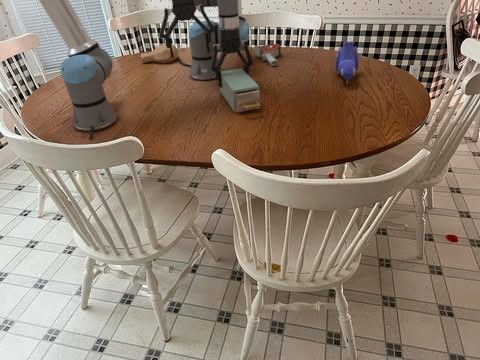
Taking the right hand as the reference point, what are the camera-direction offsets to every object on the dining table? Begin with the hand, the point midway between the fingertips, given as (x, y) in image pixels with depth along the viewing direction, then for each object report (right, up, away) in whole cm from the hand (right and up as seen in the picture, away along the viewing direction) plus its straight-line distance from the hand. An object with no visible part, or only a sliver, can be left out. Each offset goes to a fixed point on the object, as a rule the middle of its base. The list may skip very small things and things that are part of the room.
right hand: (233, 84), depth 148 cm
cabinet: (+2, -7, -4) cm, 8 cm away
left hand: (-16, +8, -14) cm, 23 cm away
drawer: (+4, -9, -9) cm, 14 cm away
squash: (-39, +23, +41) cm, 61 cm away
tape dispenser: (+17, +22, +35) cm, 45 cm away
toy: (+49, +4, +8) cm, 50 cm away
